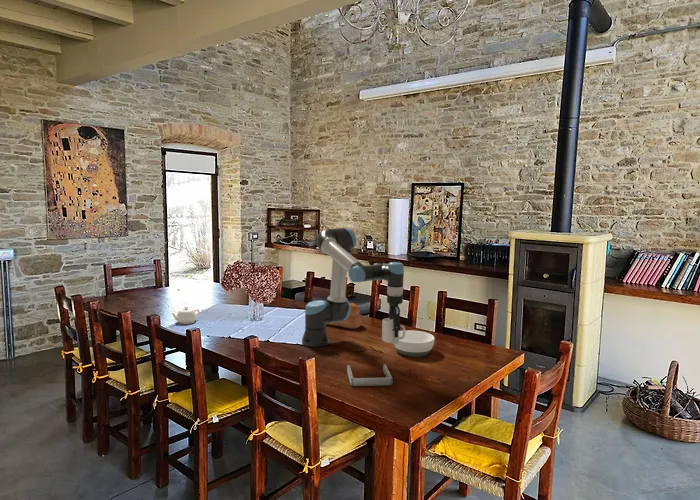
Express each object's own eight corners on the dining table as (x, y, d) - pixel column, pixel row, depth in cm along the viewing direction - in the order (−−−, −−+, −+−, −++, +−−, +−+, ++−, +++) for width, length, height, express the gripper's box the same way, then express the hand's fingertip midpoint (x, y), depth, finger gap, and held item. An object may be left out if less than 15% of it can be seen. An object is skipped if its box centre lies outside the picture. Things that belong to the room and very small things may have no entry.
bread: (353, 330, 284) (354, 306, 283) (318, 323, 297) (318, 301, 296) (364, 325, 296) (364, 302, 294) (330, 319, 309) (330, 297, 307)
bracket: (350, 386, 200) (350, 379, 200) (347, 371, 217) (347, 365, 216) (392, 385, 202) (392, 378, 201) (385, 370, 219) (385, 364, 218)
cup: (387, 336, 228) (387, 317, 227) (408, 341, 222) (409, 321, 221) (378, 341, 222) (379, 320, 220) (401, 346, 215) (401, 325, 214)
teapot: (176, 327, 283) (176, 311, 282) (166, 323, 291) (165, 308, 290) (204, 321, 299) (204, 305, 298) (193, 317, 306) (193, 302, 305)
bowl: (407, 361, 232) (408, 345, 231) (384, 347, 252) (384, 333, 251) (442, 354, 243) (443, 339, 242) (417, 342, 262) (418, 328, 261)
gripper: (407, 299, 210) (406, 347, 212) (398, 290, 231) (396, 333, 234) (391, 299, 209) (390, 347, 212) (383, 290, 230) (382, 333, 233)
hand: (393, 340), depth 223 cm, fingers closed on cup, 9 cm apart
